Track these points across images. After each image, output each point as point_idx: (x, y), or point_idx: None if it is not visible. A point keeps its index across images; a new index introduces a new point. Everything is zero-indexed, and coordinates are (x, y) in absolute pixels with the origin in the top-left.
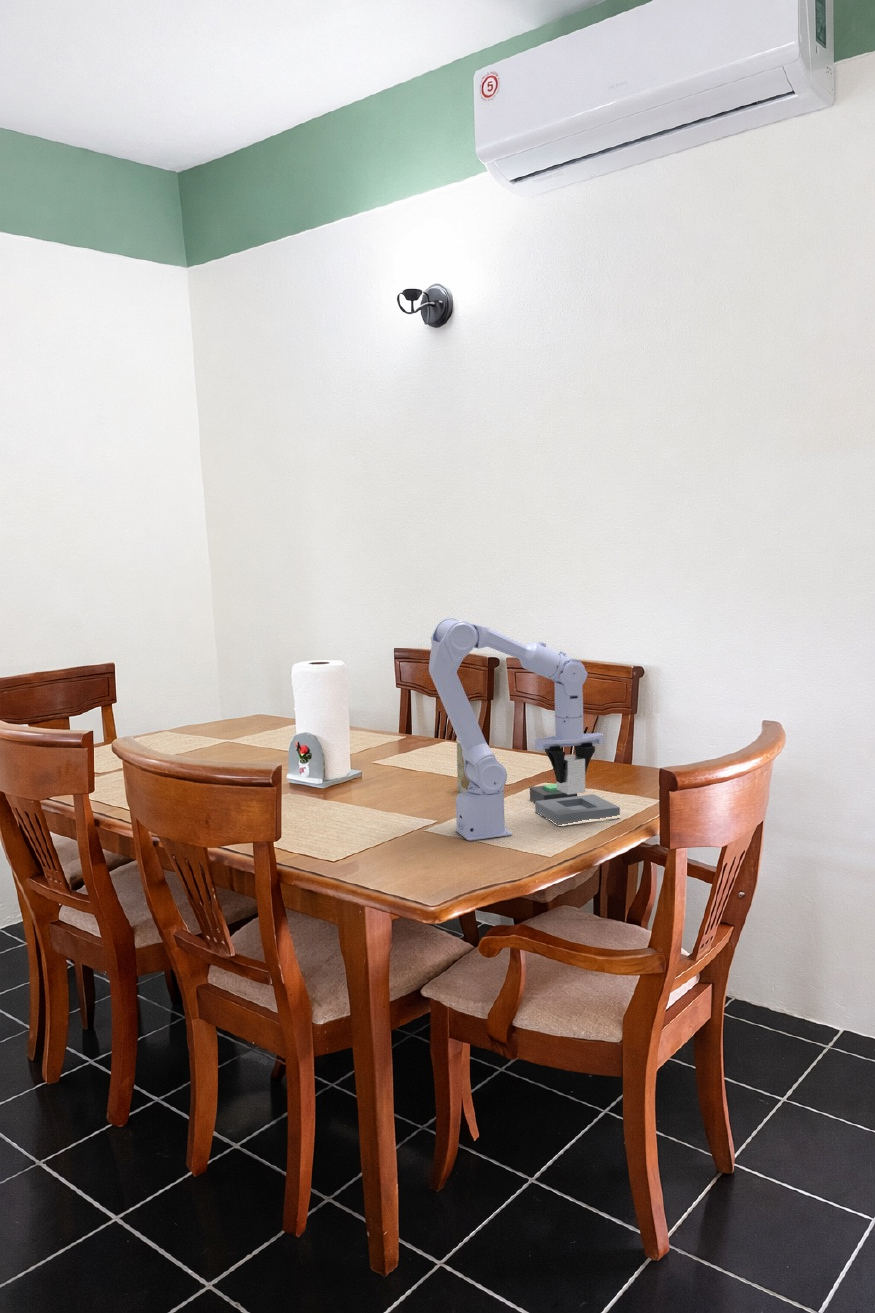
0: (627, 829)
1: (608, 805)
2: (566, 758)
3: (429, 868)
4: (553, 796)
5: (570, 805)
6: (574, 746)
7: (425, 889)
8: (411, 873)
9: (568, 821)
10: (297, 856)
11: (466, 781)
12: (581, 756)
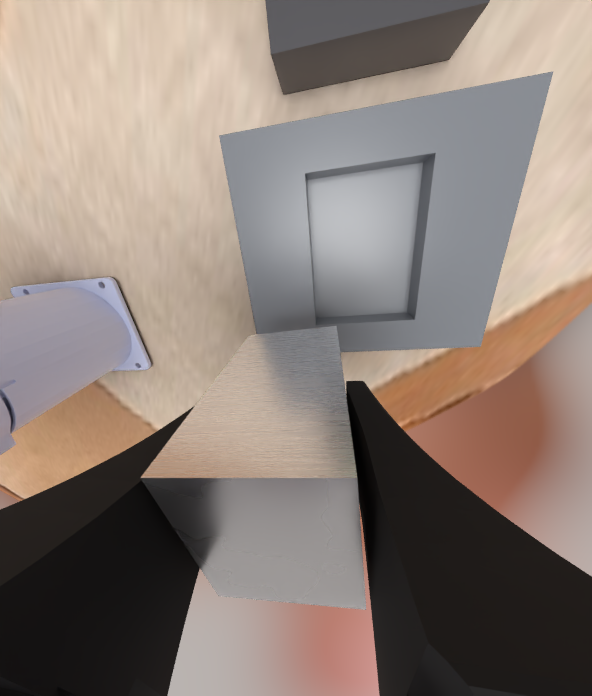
0: (415, 410)
1: (462, 312)
2: (225, 562)
3: (40, 453)
4: (326, 50)
5: (371, 169)
6: (423, 629)
7: None
8: (22, 460)
9: None
10: None
11: None
12: (373, 582)
